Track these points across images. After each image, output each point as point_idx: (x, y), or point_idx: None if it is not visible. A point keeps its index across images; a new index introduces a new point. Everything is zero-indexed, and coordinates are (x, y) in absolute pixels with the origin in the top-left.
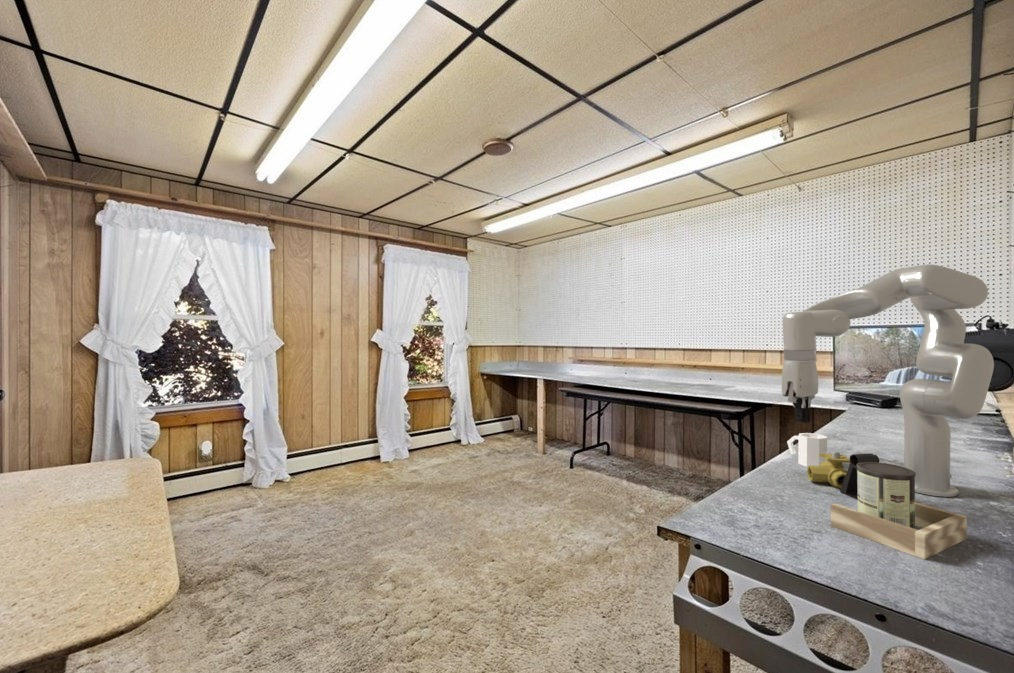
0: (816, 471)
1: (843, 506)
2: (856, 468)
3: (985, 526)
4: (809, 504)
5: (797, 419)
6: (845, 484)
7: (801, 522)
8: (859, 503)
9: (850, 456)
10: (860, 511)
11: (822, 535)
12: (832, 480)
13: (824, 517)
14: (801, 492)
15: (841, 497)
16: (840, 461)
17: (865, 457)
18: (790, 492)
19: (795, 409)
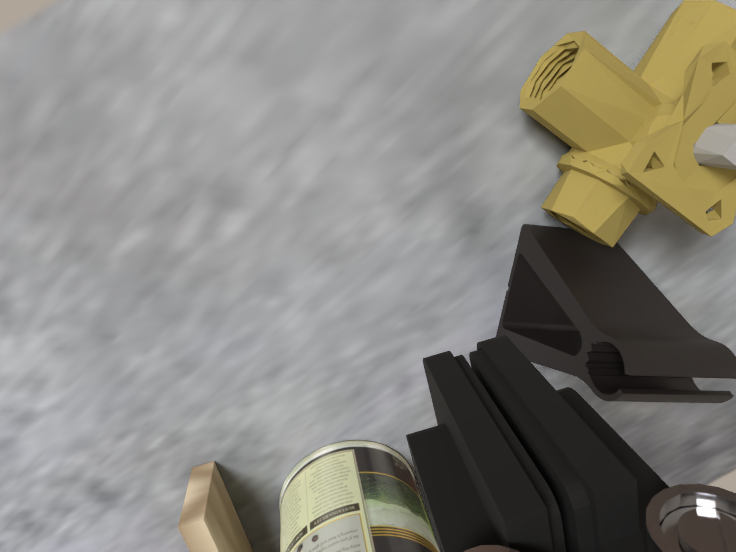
0: (558, 115)
1: (211, 544)
2: (576, 359)
3: None
4: (277, 306)
5: (433, 401)
6: (538, 262)
7: (103, 436)
8: (290, 537)
9: (622, 352)
10: (287, 520)
11: (101, 518)
12: (564, 176)
13: (228, 412)
14: (363, 183)
15: (473, 268)
16: (666, 204)
17: (653, 401)
18: (311, 171)
19: (487, 493)
